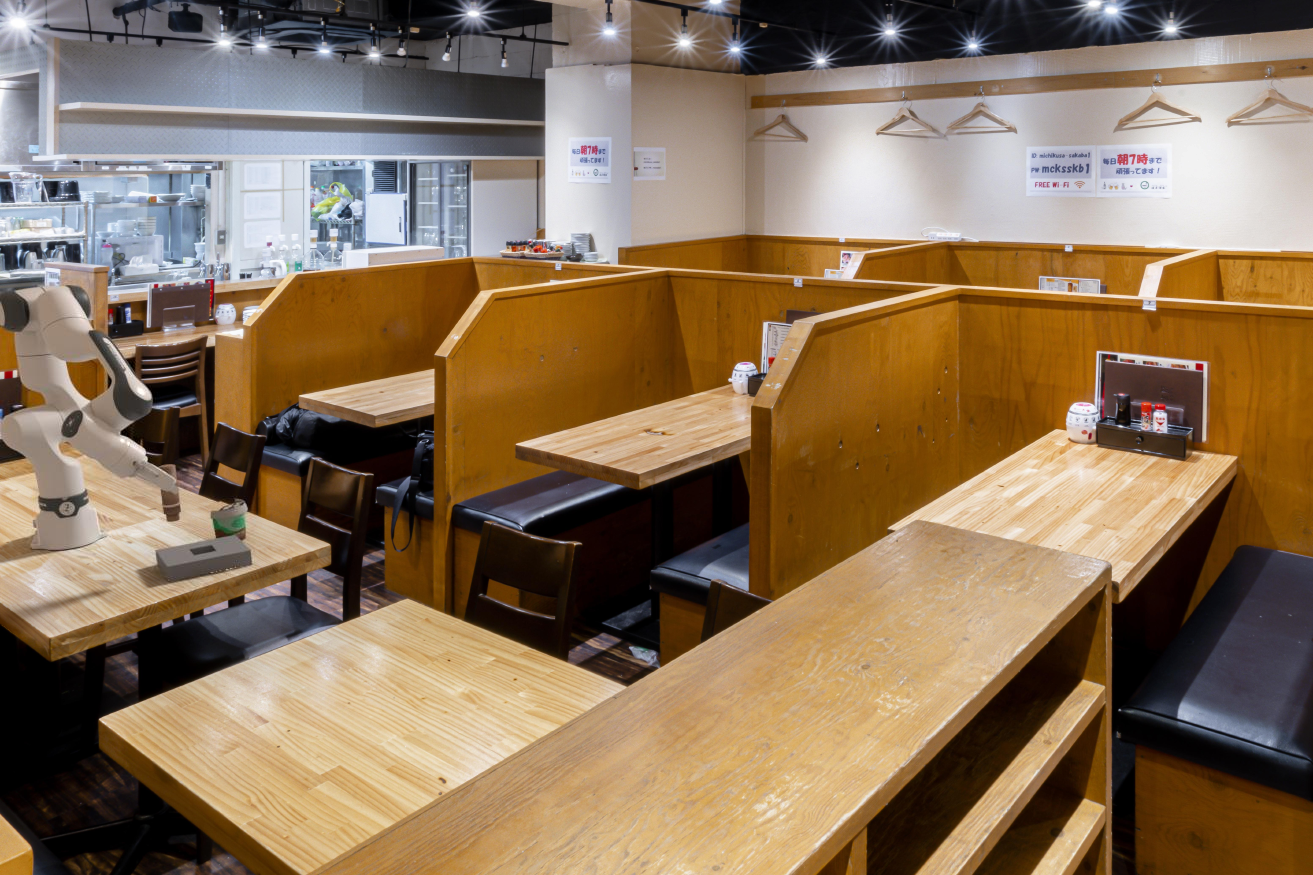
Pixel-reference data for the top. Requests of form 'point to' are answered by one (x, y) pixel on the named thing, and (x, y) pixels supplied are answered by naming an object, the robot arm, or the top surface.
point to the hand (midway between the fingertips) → (172, 489)
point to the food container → (230, 520)
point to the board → (203, 557)
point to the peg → (170, 497)
